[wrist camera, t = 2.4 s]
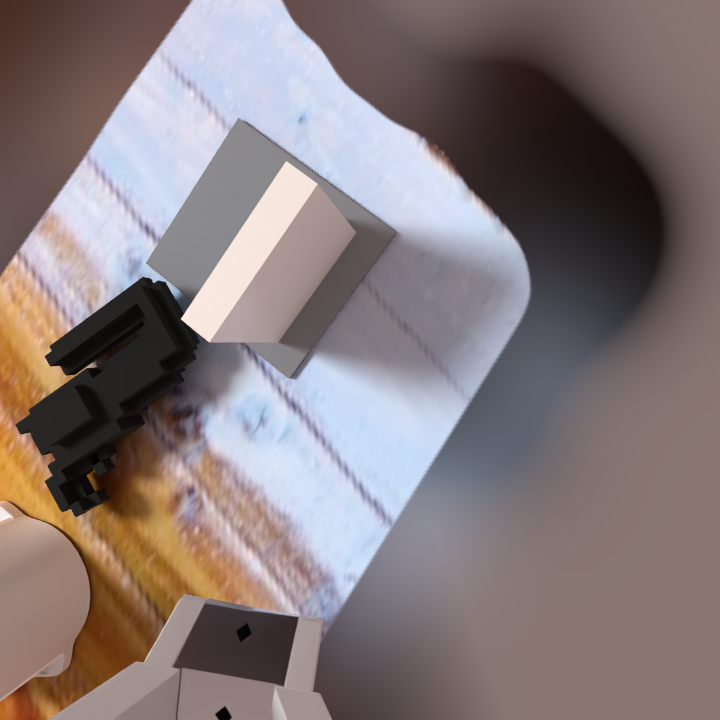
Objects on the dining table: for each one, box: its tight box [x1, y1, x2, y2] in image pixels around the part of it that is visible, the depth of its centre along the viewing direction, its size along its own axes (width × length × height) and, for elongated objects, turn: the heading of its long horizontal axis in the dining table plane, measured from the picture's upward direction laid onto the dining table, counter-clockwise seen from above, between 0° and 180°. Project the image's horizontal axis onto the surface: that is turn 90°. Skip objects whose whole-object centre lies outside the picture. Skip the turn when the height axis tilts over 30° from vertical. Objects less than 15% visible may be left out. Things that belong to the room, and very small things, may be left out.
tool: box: [16, 277, 200, 517], centre depth 41 cm, size 5×20×15 cm
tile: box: [181, 161, 356, 343], centre depth 33 cm, size 2×12×12 cm, turn 142°
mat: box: [146, 118, 396, 378], centre depth 40 cm, size 18×16×1 cm
